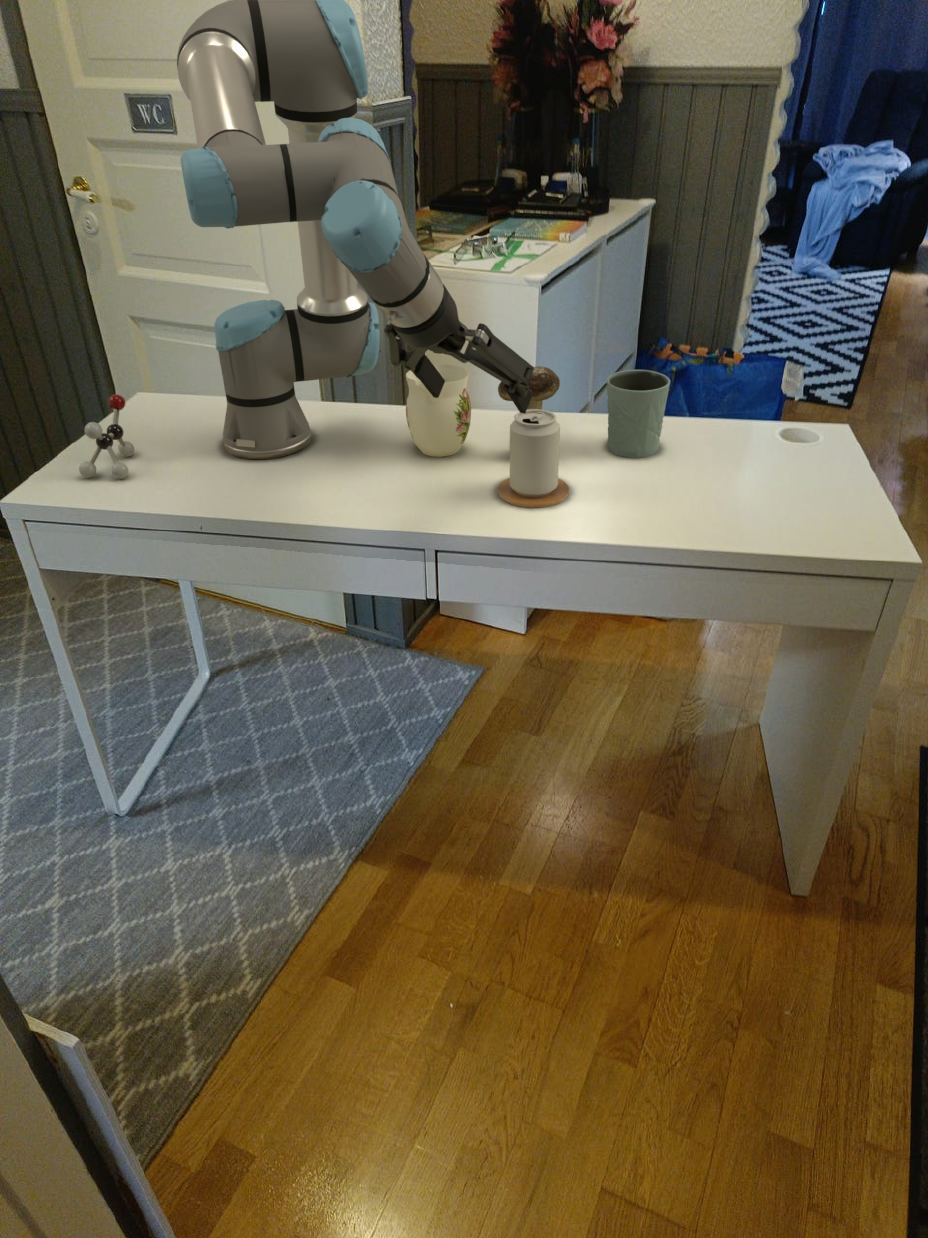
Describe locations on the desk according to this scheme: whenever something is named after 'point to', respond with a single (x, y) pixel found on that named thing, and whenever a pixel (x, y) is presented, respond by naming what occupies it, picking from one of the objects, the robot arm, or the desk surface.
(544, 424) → the can
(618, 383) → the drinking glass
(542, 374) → the mushroom
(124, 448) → the molecular model
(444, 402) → the pitcher
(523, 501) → the coaster
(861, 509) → the desk surface
